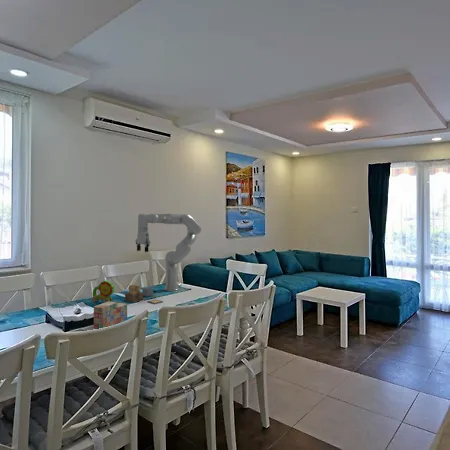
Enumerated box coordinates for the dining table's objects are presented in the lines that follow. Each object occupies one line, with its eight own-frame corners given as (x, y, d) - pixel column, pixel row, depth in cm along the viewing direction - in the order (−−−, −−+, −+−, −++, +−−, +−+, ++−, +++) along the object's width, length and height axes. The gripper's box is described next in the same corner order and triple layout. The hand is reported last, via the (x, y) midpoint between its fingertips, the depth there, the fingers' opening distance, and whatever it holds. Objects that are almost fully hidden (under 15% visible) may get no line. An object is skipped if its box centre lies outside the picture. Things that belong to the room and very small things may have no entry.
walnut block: (135, 298, 265) (135, 291, 265) (143, 300, 260) (143, 293, 259) (125, 300, 258) (125, 293, 258) (132, 302, 253) (132, 295, 253)
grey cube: (148, 294, 278) (148, 287, 278) (152, 295, 275) (152, 288, 275) (142, 295, 274) (142, 288, 274) (147, 296, 271) (147, 289, 270)
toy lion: (91, 302, 252) (91, 280, 251) (95, 300, 257) (96, 279, 256) (110, 304, 247) (111, 282, 247) (115, 302, 253) (115, 280, 252)
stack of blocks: (118, 317, 217) (119, 297, 216) (127, 319, 214) (127, 298, 214) (93, 328, 197) (93, 306, 197) (102, 330, 195) (102, 307, 194)
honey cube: (135, 292, 263) (135, 284, 263) (139, 293, 259) (139, 285, 259) (128, 293, 259) (128, 285, 258) (133, 294, 255) (133, 286, 255)
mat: (156, 300, 261) (156, 299, 261) (163, 302, 255) (163, 301, 255) (147, 302, 254) (147, 301, 254) (154, 304, 249) (154, 303, 249)
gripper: (153, 230, 281) (153, 251, 281) (140, 229, 292) (139, 250, 292) (146, 230, 275) (145, 252, 276) (132, 229, 286) (132, 250, 287)
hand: (142, 251), depth 284 cm, fingers open, 9 cm apart
